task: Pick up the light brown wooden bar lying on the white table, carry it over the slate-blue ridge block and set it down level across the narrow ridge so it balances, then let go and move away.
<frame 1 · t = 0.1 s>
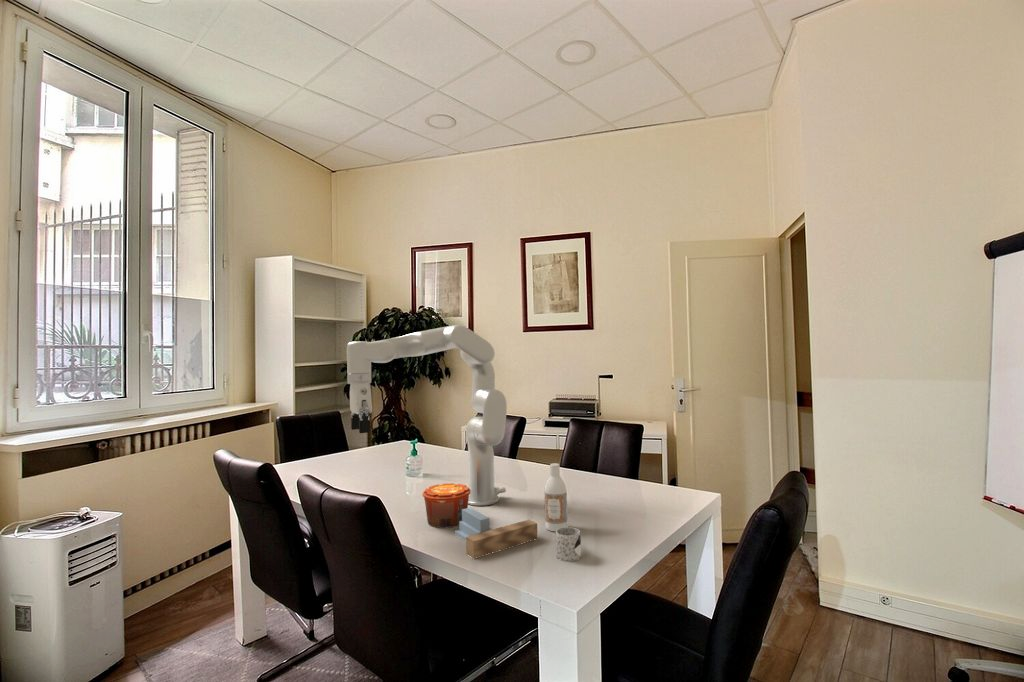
hand: (360, 430, 156), 31 cm above the table, tool pointing down, fingers open, 9 cm apart
light brown wooden bar: (503, 547, 137), on the table
bath foam: (556, 528, 150), on the table
ridge block: (475, 536, 144), on the table
food container: (447, 521, 159), on the table
mug: (569, 554, 130), on the table
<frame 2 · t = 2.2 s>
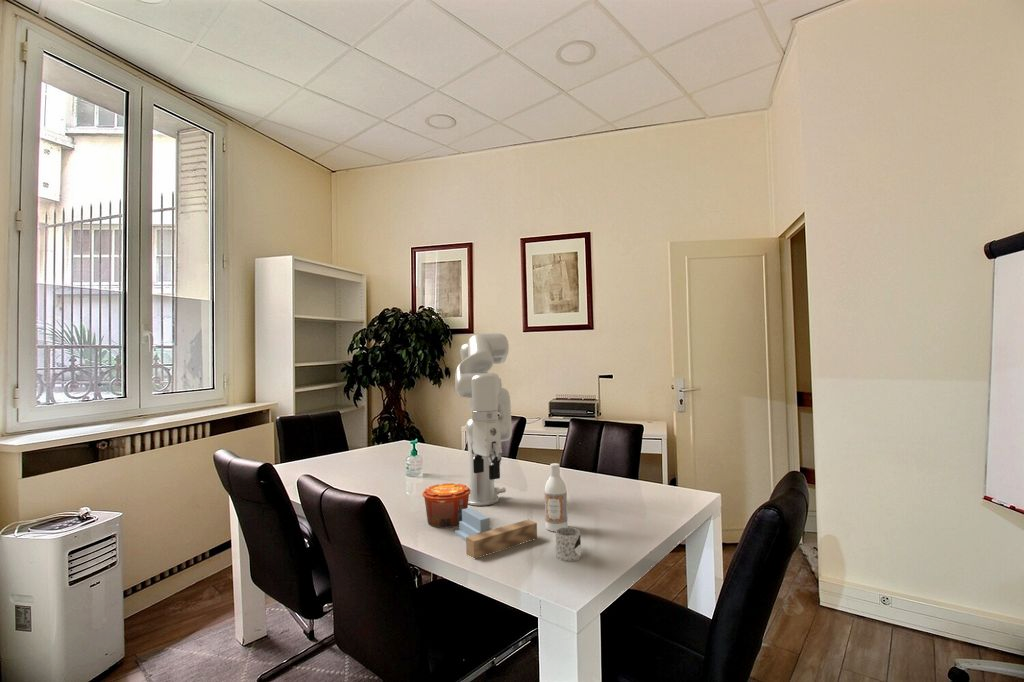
hand: (486, 475, 139), 20 cm above the table, tool pointing down, fingers open, 9 cm apart
nothing on the table moved.
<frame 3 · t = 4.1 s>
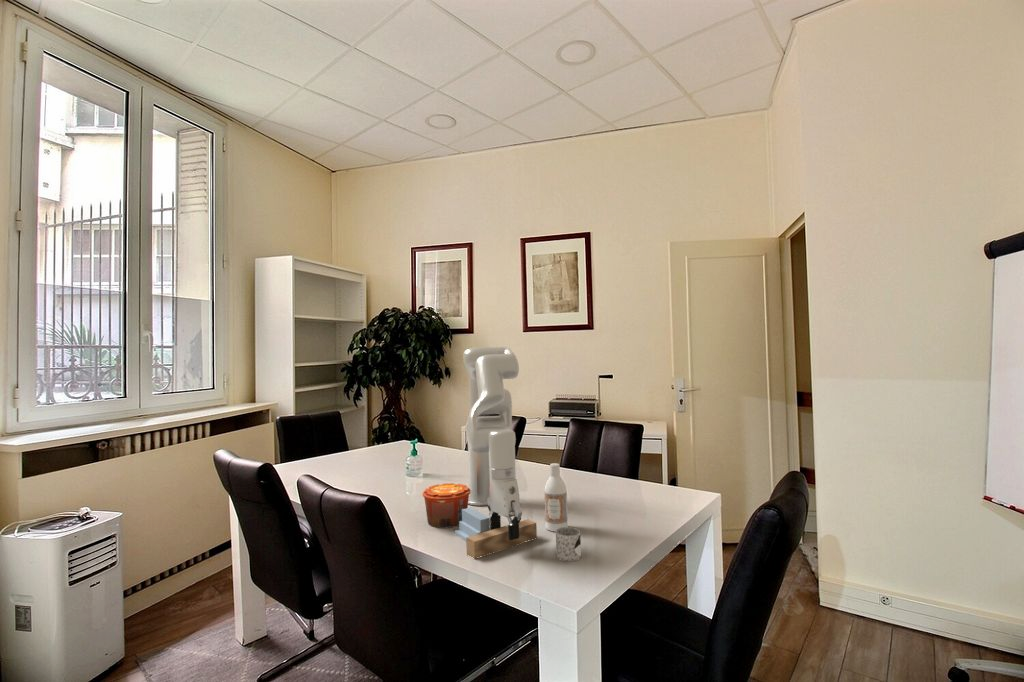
hand: (504, 534, 136), 4 cm above the table, tool pointing down, fingers open, 9 cm apart
nothing on the table moved.
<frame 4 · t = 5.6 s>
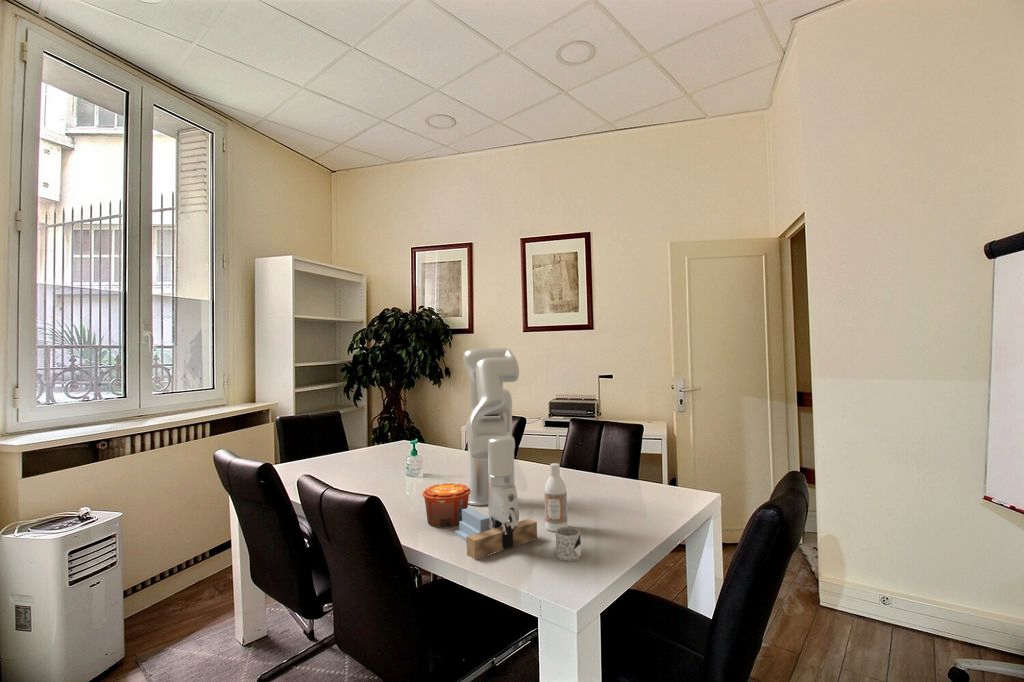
hand: (503, 543, 136), 1 cm above the table, tool pointing down, fingers closed on light brown wooden bar, 4 cm apart
light brown wooden bar: (503, 546, 136), on the table, touching gripper
everything else where it was.
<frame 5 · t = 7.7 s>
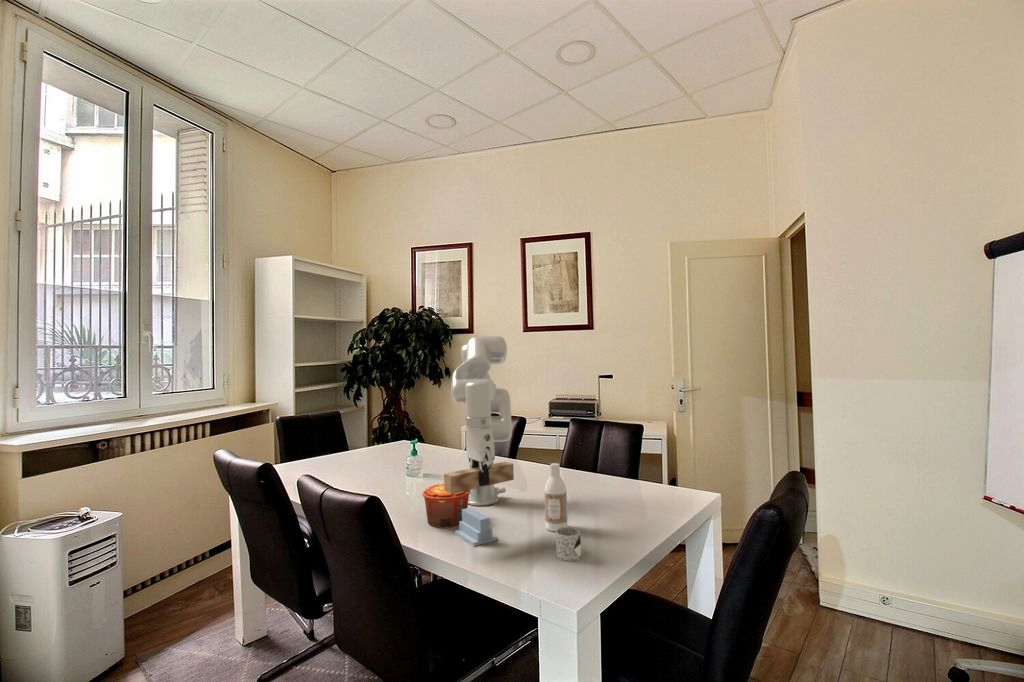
hand: (480, 482, 144), 17 cm above the table, tool pointing down, fingers closed on light brown wooden bar, 4 cm apart
light brown wooden bar: (480, 485, 143), point 16 cm above the table, touching gripper
everything else where it was.
when the fingers open (8 cm above the table, at t = 10.3 s): light brown wooden bar stays where it is, resting on ridge block.
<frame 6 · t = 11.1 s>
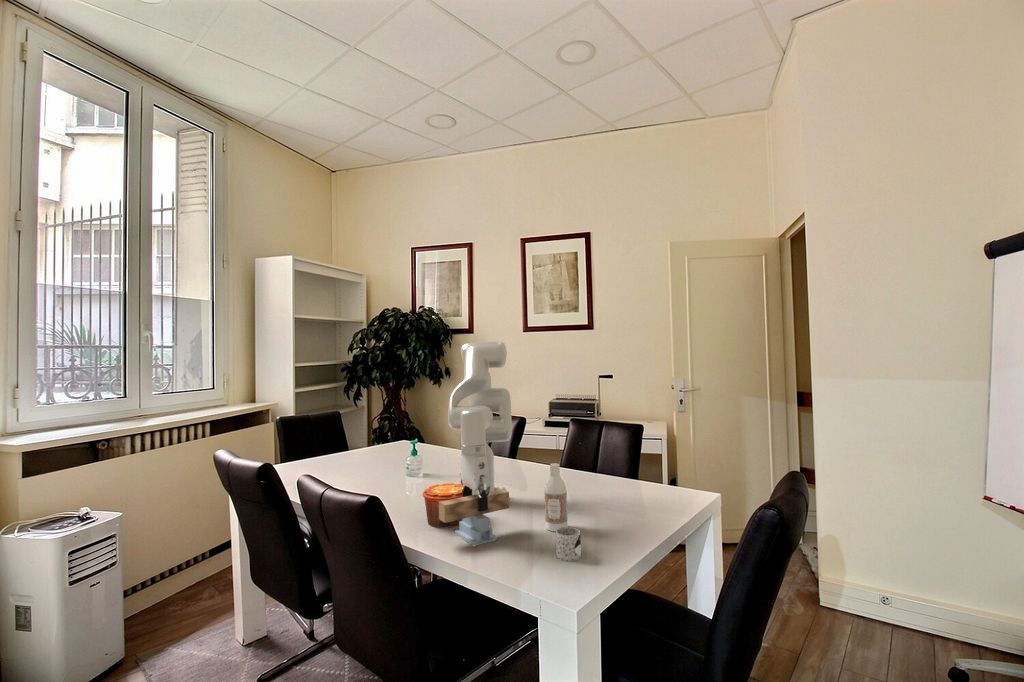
hand: (474, 506, 145), 9 cm above the table, tool pointing down, fingers open, 9 cm apart
light brown wooden bar: (475, 513, 145), point 7 cm above the table, touching ridge block
everything else where it was.
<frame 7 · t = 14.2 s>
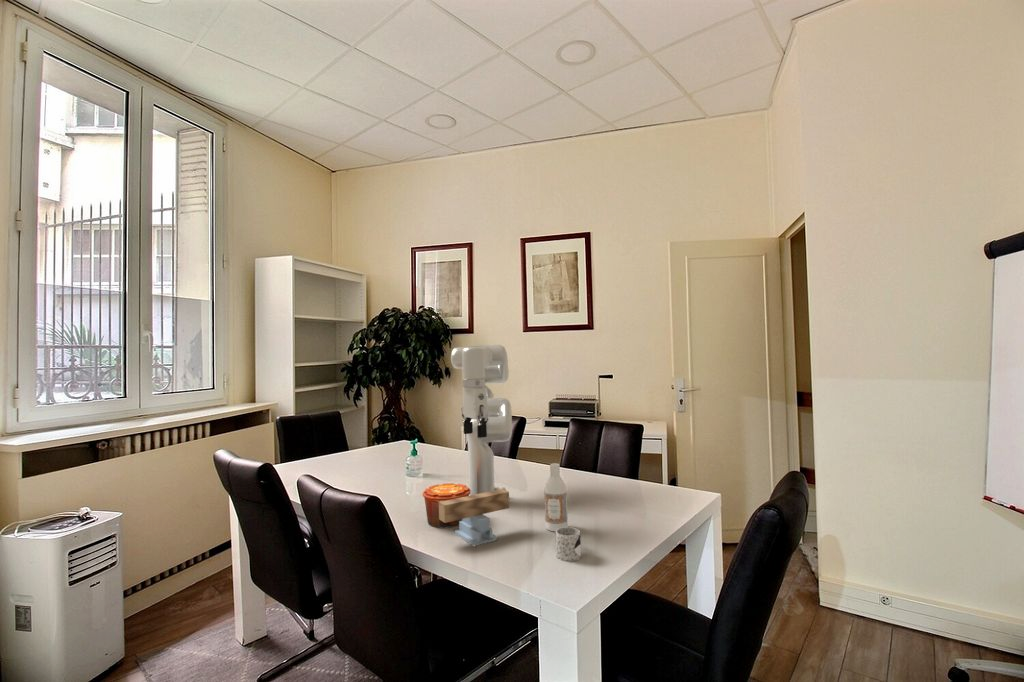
hand: (475, 435, 159), 28 cm above the table, tool pointing down, fingers open, 9 cm apart
nothing on the table moved.
at the end: light brown wooden bar 0.1 cm off-centre on the ridge block, point 7.0 cm above the ridge block's base; light brown wooden bar tilted 0°; light brown wooden bar touching ridge block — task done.
